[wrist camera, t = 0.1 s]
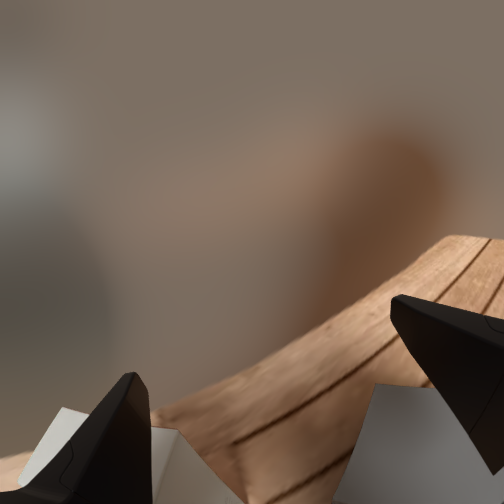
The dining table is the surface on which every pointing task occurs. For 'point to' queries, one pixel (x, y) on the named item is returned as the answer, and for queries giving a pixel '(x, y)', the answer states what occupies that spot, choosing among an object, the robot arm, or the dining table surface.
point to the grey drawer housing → (415, 455)
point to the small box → (163, 464)
